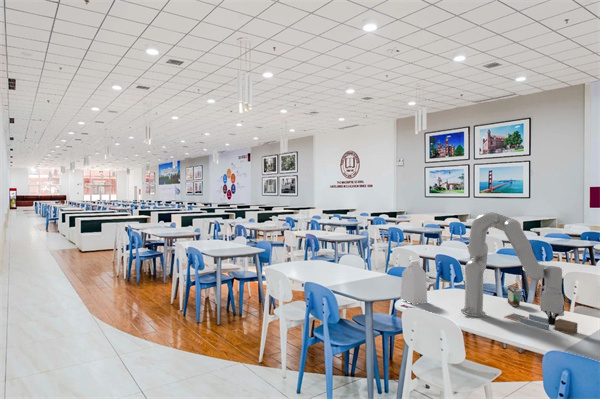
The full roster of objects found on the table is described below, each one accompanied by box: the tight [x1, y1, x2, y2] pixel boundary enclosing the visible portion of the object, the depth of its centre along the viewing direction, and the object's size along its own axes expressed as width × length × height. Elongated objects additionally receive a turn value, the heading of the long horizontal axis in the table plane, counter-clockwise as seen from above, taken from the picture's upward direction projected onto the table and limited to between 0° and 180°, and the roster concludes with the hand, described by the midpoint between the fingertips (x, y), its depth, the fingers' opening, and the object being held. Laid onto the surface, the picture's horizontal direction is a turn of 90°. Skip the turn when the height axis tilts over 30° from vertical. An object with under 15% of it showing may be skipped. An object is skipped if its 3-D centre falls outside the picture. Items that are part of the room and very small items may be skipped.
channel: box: [519, 313, 555, 331], centre depth 208 cm, size 11×14×2 cm
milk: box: [399, 260, 428, 305], centre depth 247 cm, size 12×12×26 cm
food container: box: [506, 286, 522, 308], centre depth 241 cm, size 12×6×10 cm, turn 168°
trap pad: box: [503, 312, 529, 322], centre depth 218 cm, size 11×8×1 cm
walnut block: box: [554, 318, 578, 336], centre depth 197 cm, size 6×8×5 cm
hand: (551, 324), depth 202 cm, fingers closed
